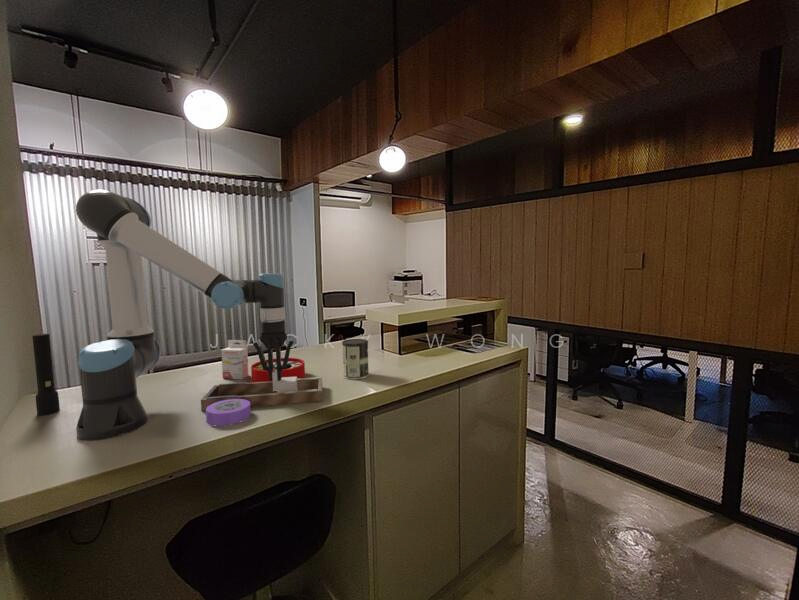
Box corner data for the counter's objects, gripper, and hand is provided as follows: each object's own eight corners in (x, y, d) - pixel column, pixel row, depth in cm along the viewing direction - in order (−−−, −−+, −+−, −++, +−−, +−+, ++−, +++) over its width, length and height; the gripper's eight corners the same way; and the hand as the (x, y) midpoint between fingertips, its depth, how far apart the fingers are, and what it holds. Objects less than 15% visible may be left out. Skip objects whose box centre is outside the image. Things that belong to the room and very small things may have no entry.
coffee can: (364, 371, 153) (364, 337, 151) (372, 377, 143) (371, 342, 142) (340, 373, 149) (339, 339, 147) (346, 381, 139) (345, 344, 138)
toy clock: (240, 366, 141) (283, 355, 158) (241, 380, 142) (283, 368, 158) (272, 374, 130) (315, 362, 146) (273, 390, 130) (315, 376, 147)
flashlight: (34, 413, 111) (40, 416, 108) (26, 335, 108) (32, 336, 106) (55, 407, 115) (62, 410, 112) (48, 332, 113) (55, 333, 110)
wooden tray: (201, 411, 111) (200, 399, 111) (215, 395, 125) (214, 384, 125) (322, 401, 118) (321, 390, 118) (322, 387, 132) (322, 376, 132)
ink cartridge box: (222, 379, 143) (220, 342, 142) (229, 375, 148) (227, 339, 147) (242, 379, 142) (240, 342, 141) (249, 375, 147) (247, 339, 146)
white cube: (297, 393, 126) (297, 376, 126) (296, 399, 120) (295, 381, 120) (279, 394, 125) (278, 377, 125) (277, 400, 119) (276, 383, 119)
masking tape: (238, 407, 114) (238, 395, 114) (258, 416, 107) (257, 404, 107) (199, 419, 105) (198, 406, 105) (218, 430, 98) (217, 417, 98)
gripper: (294, 318, 125) (296, 385, 127) (254, 319, 122) (257, 387, 124) (292, 321, 118) (295, 392, 120) (249, 322, 115) (253, 395, 117)
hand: (275, 390), depth 122 cm, fingers closed
